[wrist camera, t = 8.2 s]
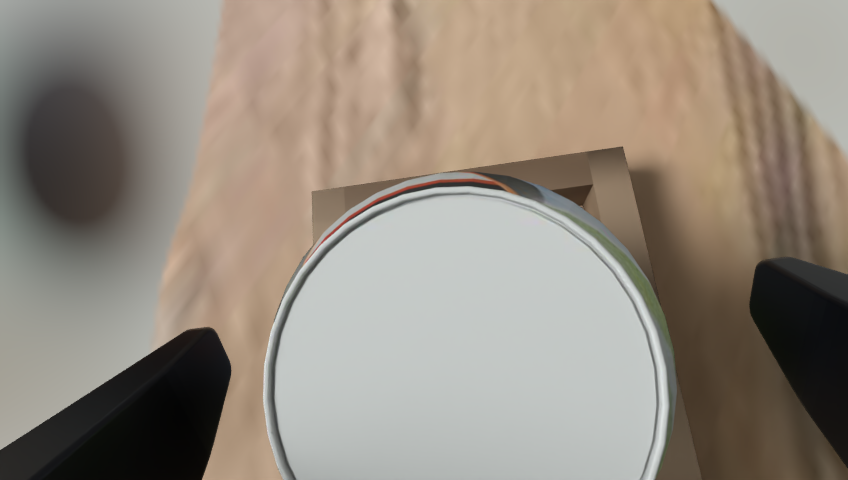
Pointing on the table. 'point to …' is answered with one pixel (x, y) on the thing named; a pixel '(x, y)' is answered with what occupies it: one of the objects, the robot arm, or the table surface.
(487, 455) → the beverage can
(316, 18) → the table surface
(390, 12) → the table surface
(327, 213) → the walnut collar
